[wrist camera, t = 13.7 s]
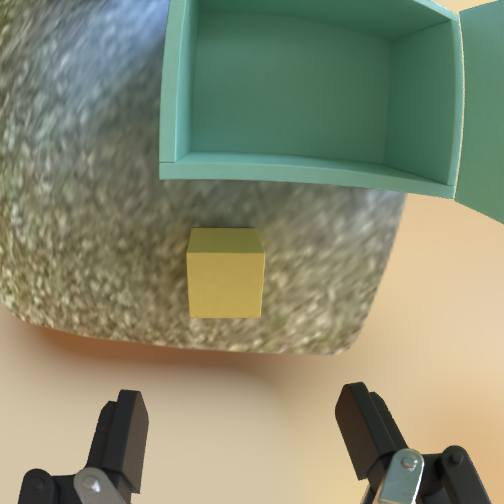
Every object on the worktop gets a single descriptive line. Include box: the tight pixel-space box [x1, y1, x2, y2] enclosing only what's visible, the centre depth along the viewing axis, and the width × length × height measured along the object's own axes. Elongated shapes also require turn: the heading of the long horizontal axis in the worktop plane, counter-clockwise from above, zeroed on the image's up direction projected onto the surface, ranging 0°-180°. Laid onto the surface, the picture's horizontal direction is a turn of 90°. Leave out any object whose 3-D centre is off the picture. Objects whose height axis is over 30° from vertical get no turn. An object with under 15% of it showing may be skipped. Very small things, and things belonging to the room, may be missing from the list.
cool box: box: [159, 0, 463, 199], centre depth 15 cm, size 17×13×9 cm
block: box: [186, 228, 265, 318], centre depth 22 cm, size 5×5×5 cm
